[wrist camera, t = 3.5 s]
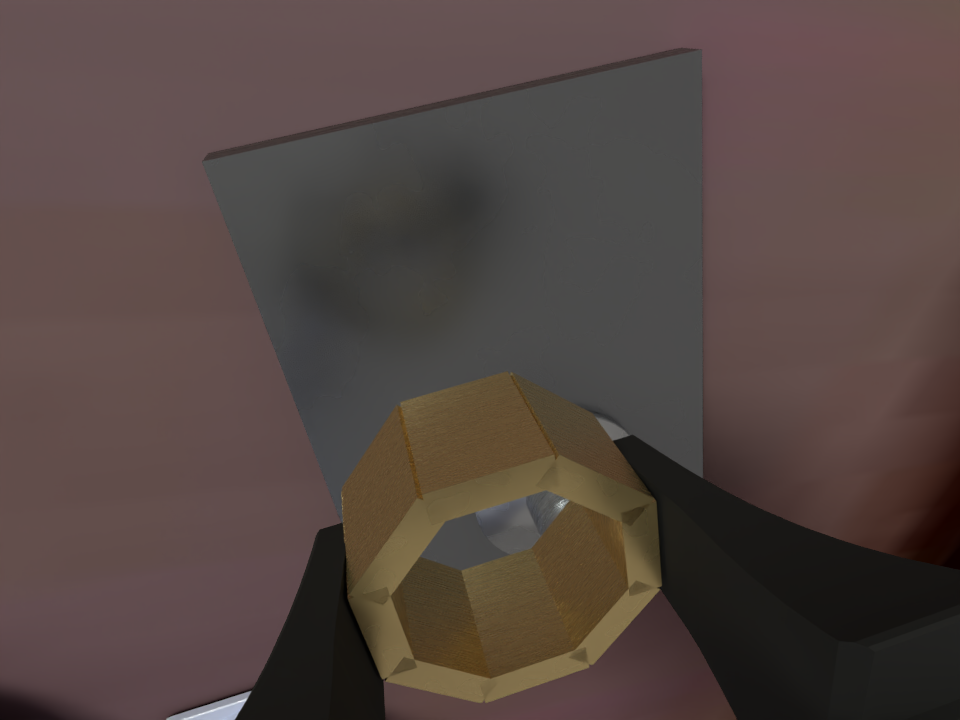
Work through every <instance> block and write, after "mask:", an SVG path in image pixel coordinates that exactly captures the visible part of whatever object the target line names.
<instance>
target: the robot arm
mask: <svg viewBox="0 0 960 720" xmlns="http://www.w3.org/2000/svg"><path fill="white" fill-rule="evenodd" d="M613 442H614V443H615V445H616V446H617V448H618V449H619V450H620V452H621V453H622V455H623V456H624V458H625V459H626V460H627V462H628V463H629V464H630V466H631V467H632V468H633V470H634V471H635V473H636V474H637V475H638V477H639V478H640V479H641V481H642V482H643V484H644V485H645V486H646V488H647V489H648V491H649V492H650V493H651V495H652V496H653V497H654V499H655V500H656V503H657V519H658V534H659V549H660V564H661V579H662V586H661V587H660V589H661V590H662V592H663V593H664V595H665V596H666V598H667V599H668V601H669V602H670V604H671V605H672V607H673V608H674V610H675V611H676V613H677V614H678V616H679V617H680V618H681V620H682V621H683V623H684V624H685V626H686V627H687V629H688V630H689V632H690V634H691V635H692V637H693V638H694V640H695V642H696V643H697V645H698V647H699V648H700V650H701V652H702V654H703V655H704V657H705V659H706V661H707V663H708V665H709V667H710V668H711V670H712V672H713V674H714V676H715V678H716V680H717V681H718V683H719V685H720V687H721V689H722V691H723V693H724V695H725V697H726V698H727V700H728V702H729V704H730V706H731V708H732V710H733V712H734V714H735V716H736V718H737V720H960V570H957V569H952V568H947V567H942V566H938V565H933V564H928V563H924V562H919V561H914V560H909V559H905V558H901V557H897V556H894V555H890V554H886V553H883V552H879V551H875V550H872V549H868V548H865V547H861V546H858V545H855V544H851V543H848V542H845V541H842V540H839V539H836V538H833V537H830V536H827V535H825V534H822V533H819V532H816V531H813V530H810V529H808V528H805V527H802V526H800V525H797V524H795V523H792V522H790V521H788V520H785V519H783V518H781V517H778V516H776V515H774V514H771V513H769V512H766V511H764V510H762V509H760V508H758V507H756V506H753V505H751V504H749V503H747V502H745V501H743V500H741V499H740V498H738V497H736V496H734V495H732V494H730V493H728V492H726V491H724V490H722V489H720V488H719V487H717V486H715V485H713V484H712V483H710V482H708V481H706V480H705V479H703V478H701V477H700V476H698V475H696V474H694V473H693V472H691V471H689V470H688V469H686V468H685V467H683V466H681V465H680V464H678V463H677V462H675V461H673V460H672V459H670V458H669V457H667V456H665V455H664V454H662V453H661V452H659V451H658V450H656V449H655V448H653V447H652V446H650V445H648V444H647V443H645V442H644V441H642V440H641V439H639V438H637V437H636V436H634V435H630V436H627V437H623V438H620V439H617V440H613ZM166 720H385V706H384V684H383V679H382V678H381V676H380V673H379V671H378V669H377V666H376V664H375V662H374V659H373V657H372V655H371V652H370V650H369V648H368V645H367V643H366V641H365V638H364V636H363V634H362V631H361V629H360V627H359V624H358V622H357V620H356V617H355V615H354V613H353V610H352V608H351V606H350V603H349V601H348V595H347V579H346V547H345V543H344V530H343V523H340V524H337V525H334V526H330V527H327V528H324V529H320V530H319V532H318V533H317V535H316V538H315V541H314V545H313V548H312V551H311V555H310V558H309V561H308V564H307V567H306V570H305V573H304V576H303V578H302V581H301V584H300V587H299V589H298V592H297V594H296V597H295V600H294V602H293V605H292V607H291V610H290V612H289V615H288V617H287V620H286V622H285V624H284V626H283V628H282V631H281V633H280V635H279V637H278V639H277V642H276V644H275V646H274V648H273V651H272V653H271V655H270V657H269V659H268V661H267V663H266V665H265V667H264V669H263V671H262V673H261V675H260V676H259V678H258V680H257V682H256V684H255V686H254V687H253V689H252V691H249V692H246V693H243V694H239V695H236V696H233V697H230V698H227V699H224V700H221V701H218V702H214V703H211V704H208V705H205V706H202V707H199V708H196V709H192V710H189V711H186V712H183V713H180V714H177V715H174V716H171V717H169V718H167V719H166Z"/></svg>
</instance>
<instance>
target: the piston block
mask: <svg viewBox="0 0 960 720" xmlns="http://www.w3.org/2000/svg"><path fill="white" fill-rule="evenodd" d="M202 163H203V166H204V168H205V171H206V173H207V176H208V179H209V181H210V184H211V186H212V189H213V191H214V194H215V197H216V199H217V202H218V204H219V207H220V210H221V212H222V215H223V217H224V220H225V223H226V225H227V228H228V230H229V233H230V235H231V238H232V241H233V243H234V246H235V248H236V251H237V254H238V256H239V259H240V261H241V264H242V266H243V269H244V272H245V274H246V277H247V279H248V282H249V285H250V287H251V290H252V292H253V295H254V298H255V300H256V303H257V305H258V308H259V310H260V313H261V316H262V318H263V321H264V323H265V326H266V329H267V331H268V334H269V336H270V339H271V342H272V344H273V347H274V349H275V352H276V354H277V357H278V360H279V362H280V365H281V367H282V370H283V373H284V375H285V378H286V380H287V383H288V386H289V388H290V391H291V393H292V396H293V398H294V401H295V404H296V406H297V409H298V411H299V414H300V417H301V419H302V422H303V424H304V427H305V430H306V432H307V435H308V437H309V440H310V442H311V445H312V448H313V450H314V453H315V455H316V458H317V461H318V463H319V466H320V468H321V471H322V473H323V476H324V479H325V481H326V484H327V486H328V489H329V492H330V494H331V497H332V499H333V502H334V505H335V507H336V510H337V512H338V515H339V517H340V520H341V523H343V514H342V498H341V491H342V487H343V485H344V484H345V482H346V481H347V479H348V478H349V476H350V475H351V473H352V472H353V470H354V469H355V467H356V465H357V464H358V462H359V461H360V459H361V458H362V456H363V455H364V453H365V452H366V450H367V449H368V447H369V446H370V444H371V443H372V441H373V440H374V438H375V437H376V435H377V434H378V432H379V431H380V429H381V428H382V426H383V425H384V423H385V422H386V420H387V419H388V417H389V416H390V414H391V412H392V411H393V409H394V408H395V406H396V405H399V406H401V403H400V402H402V401H405V400H409V399H412V398H416V397H419V396H423V395H426V394H430V393H433V392H437V391H440V390H444V389H447V388H451V387H454V386H458V385H461V384H465V383H468V382H472V381H475V380H479V379H482V378H486V377H489V376H493V375H496V374H500V373H503V372H507V371H508V373H509V375H510V373H511V372H513V373H515V374H517V375H519V376H521V377H523V378H525V379H527V380H529V381H531V382H533V383H535V384H537V385H538V386H540V387H542V388H544V389H546V390H548V391H550V392H552V393H554V394H556V395H558V396H560V397H562V398H564V399H566V400H568V401H570V402H572V403H574V404H576V405H578V406H579V407H581V408H583V409H585V410H587V411H589V412H591V413H593V415H594V416H595V417H596V419H597V420H598V421H599V423H600V424H601V425H602V427H603V428H604V430H605V431H606V432H607V434H608V435H609V437H610V438H611V439H612V441H613V440H617V439H620V438H623V437H627V436H630V435H634V436H636V437H637V438H639V439H641V440H642V441H644V442H645V443H647V444H648V445H650V446H652V447H653V448H655V449H656V450H658V451H659V452H661V453H662V454H664V455H665V456H667V457H669V458H670V459H672V460H673V461H675V462H677V463H678V464H680V465H681V466H683V467H685V468H686V469H688V470H689V471H691V472H693V473H694V474H696V475H698V476H700V477H701V478H703V321H702V49H688V48H678V49H674V50H669V51H665V52H660V53H656V54H652V55H647V56H643V57H638V58H634V59H629V60H625V61H620V62H616V63H611V64H607V65H602V66H598V67H593V68H589V69H584V70H580V71H575V72H571V73H566V74H562V75H558V76H553V77H549V78H544V79H540V80H535V81H531V82H526V83H522V84H517V85H513V86H508V87H504V88H499V89H495V90H490V91H486V92H481V93H477V94H472V95H468V96H463V97H459V98H455V99H450V100H446V101H441V102H437V103H432V104H428V105H423V106H419V107H414V108H410V109H405V110H401V111H396V112H392V113H387V114H383V115H378V116H374V117H369V118H365V119H361V120H356V121H352V122H347V123H343V124H338V125H334V126H329V127H325V128H320V129H316V130H311V131H307V132H302V133H298V134H293V135H289V136H284V137H280V138H275V139H271V140H267V141H262V142H258V143H253V144H249V145H244V146H240V147H235V148H231V149H226V150H222V151H217V152H213V153H208V155H207V156H206V157H205V159H204V160H203V161H202ZM569 501H570V500H568V499H566V498H563V497H561V496H559V495H556V494H554V493H552V492H549V491H547V490H545V491H542V492H539V493H536V494H533V495H529V496H526V497H523V498H520V499H516V500H513V501H510V502H507V503H503V504H500V505H497V506H494V507H491V508H487V509H484V510H481V511H478V512H474V513H471V514H468V515H465V516H461V517H458V518H455V519H452V520H448V521H445V523H444V524H443V525H442V527H441V528H440V529H439V531H438V532H437V534H436V535H435V536H434V538H433V539H432V540H431V542H430V543H429V544H428V546H427V547H426V548H425V550H424V551H423V553H422V554H421V555H420V557H422V558H425V559H428V560H431V561H434V562H437V563H440V564H443V565H446V566H449V567H452V568H455V569H458V570H464V569H468V568H471V567H474V566H477V565H480V564H483V563H486V562H489V561H493V560H496V559H499V558H502V557H505V556H508V555H511V554H515V553H518V552H521V551H524V550H527V549H530V548H532V547H533V546H534V545H535V543H536V542H537V541H538V540H539V538H540V537H541V536H542V535H543V533H544V532H545V531H546V529H547V528H548V527H549V526H550V524H551V523H552V522H553V521H554V519H555V518H556V517H557V516H558V514H559V513H560V512H561V511H562V509H563V508H564V507H565V506H566V504H567V503H568V502H569Z"/></svg>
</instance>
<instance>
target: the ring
mask: <svg viewBox="0 0 960 720" xmlns="http://www.w3.org/2000/svg"><path fill="white" fill-rule="evenodd" d="M400 403H401V406H399V405H396V406H395V408H394V409H393V411H392V412H391V414H390V416H389V417H388V419H387V420H386V422H385V423H384V425H383V426H382V428H381V429H380V431H379V432H378V434H377V435H376V437H375V438H374V440H373V441H372V443H371V444H370V446H369V447H368V449H367V450H366V452H365V453H364V455H363V456H362V458H361V459H360V461H359V462H358V464H357V465H356V467H355V469H354V470H353V472H352V473H351V475H350V476H349V478H348V479H347V481H346V482H345V484H344V485H343V487H342V491H341V498H342V514H343V530H344V543H345V547H346V579H347V595H348V601H349V603H350V606H351V608H352V610H353V613H354V615H355V617H356V620H357V622H358V624H359V627H360V629H361V631H362V634H363V636H364V638H365V641H366V643H367V645H368V648H369V650H370V652H371V655H372V657H373V659H374V662H375V664H376V666H377V669H378V671H379V673H380V676H381V678H382V679H385V681H386V682H390V683H395V684H399V685H403V686H408V687H412V688H417V689H421V690H425V691H430V692H434V693H439V694H443V695H447V696H452V697H456V698H461V699H465V700H469V701H474V702H478V703H482V702H483V701H484V700H485V703H487V702H490V701H493V700H496V699H499V698H502V697H505V696H508V695H510V694H513V693H516V692H519V691H522V690H525V689H528V688H531V687H534V686H537V685H540V684H542V683H545V682H548V681H551V680H554V679H557V678H560V677H563V676H566V675H569V674H572V673H574V672H577V671H580V670H583V669H586V668H589V664H591V665H593V664H594V663H595V662H596V661H597V660H598V659H599V657H600V656H601V655H602V654H603V653H604V652H605V651H606V650H607V649H608V647H609V646H610V645H611V644H612V643H613V642H614V641H615V640H616V638H617V637H618V636H619V635H620V634H621V633H622V632H623V631H624V630H625V628H626V627H627V626H628V625H629V624H630V623H631V622H632V621H633V619H634V618H635V617H636V616H637V615H638V614H639V613H640V612H641V611H642V609H643V608H644V607H645V606H646V605H647V604H648V603H649V602H650V600H651V599H652V598H653V597H654V596H655V595H656V594H657V593H658V592H659V590H660V588H659V587H661V586H662V579H661V564H660V549H659V534H658V519H657V503H656V500H655V499H654V497H653V496H652V495H651V493H650V492H649V491H648V489H647V488H646V486H645V485H644V484H643V482H642V481H641V479H640V478H639V477H638V475H637V474H636V473H635V471H634V470H633V468H632V467H631V466H630V464H629V463H628V462H627V460H626V459H625V458H624V456H623V455H622V453H621V452H620V450H619V449H618V448H617V446H616V445H615V443H614V442H613V441H612V439H611V438H610V437H609V435H608V434H607V432H606V431H605V430H604V428H603V427H602V425H601V424H600V423H599V421H598V420H597V419H596V417H595V416H594V415H593V413H591V412H589V411H587V410H585V409H583V408H581V407H579V406H578V405H576V404H574V403H572V402H570V401H568V400H566V399H564V398H562V397H560V396H558V395H556V394H554V393H552V392H550V391H548V390H546V389H544V388H542V387H540V386H538V385H537V384H535V383H533V382H531V381H529V380H527V379H525V378H523V377H521V376H519V375H517V374H515V373H513V372H511V373H510V375H509V373H508V371H507V372H503V373H500V374H496V375H493V376H489V377H486V378H482V379H479V380H475V381H472V382H468V383H465V384H461V385H458V386H454V387H451V388H447V389H444V390H440V391H437V392H433V393H430V394H426V395H423V396H419V397H416V398H412V399H409V400H405V401H402V402H400ZM545 490H547V491H549V492H552V493H554V494H556V495H559V496H561V497H563V498H566V499H568V500H570V501H569V502H568V503H567V504H566V506H565V507H564V508H563V509H562V511H561V512H560V513H559V514H558V516H557V517H556V518H555V519H554V521H553V522H552V523H551V524H550V526H549V527H548V528H547V529H546V531H545V532H544V533H543V535H542V536H541V537H540V538H539V540H538V541H537V542H536V543H535V545H534V546H533V547H532V548H530V549H527V550H524V551H521V552H518V553H515V554H511V555H508V556H505V557H502V558H499V559H496V560H493V561H489V562H486V563H483V564H480V565H477V566H474V567H471V568H468V569H464V570H458V569H455V568H452V567H449V566H446V565H443V564H440V563H437V562H434V561H431V560H428V559H425V558H422V557H420V555H421V554H422V553H423V551H424V550H425V548H426V547H427V546H428V544H429V543H430V542H431V540H432V539H433V538H434V536H435V535H436V534H437V532H438V531H439V529H440V528H441V527H442V525H443V524H444V523H445V521H448V520H452V519H455V518H458V517H461V516H465V515H468V514H471V513H474V512H478V511H481V510H484V509H487V508H491V507H494V506H497V505H500V504H503V503H507V502H510V501H513V500H516V499H520V498H523V497H526V496H529V495H533V494H536V493H539V492H542V491H545Z"/></svg>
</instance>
